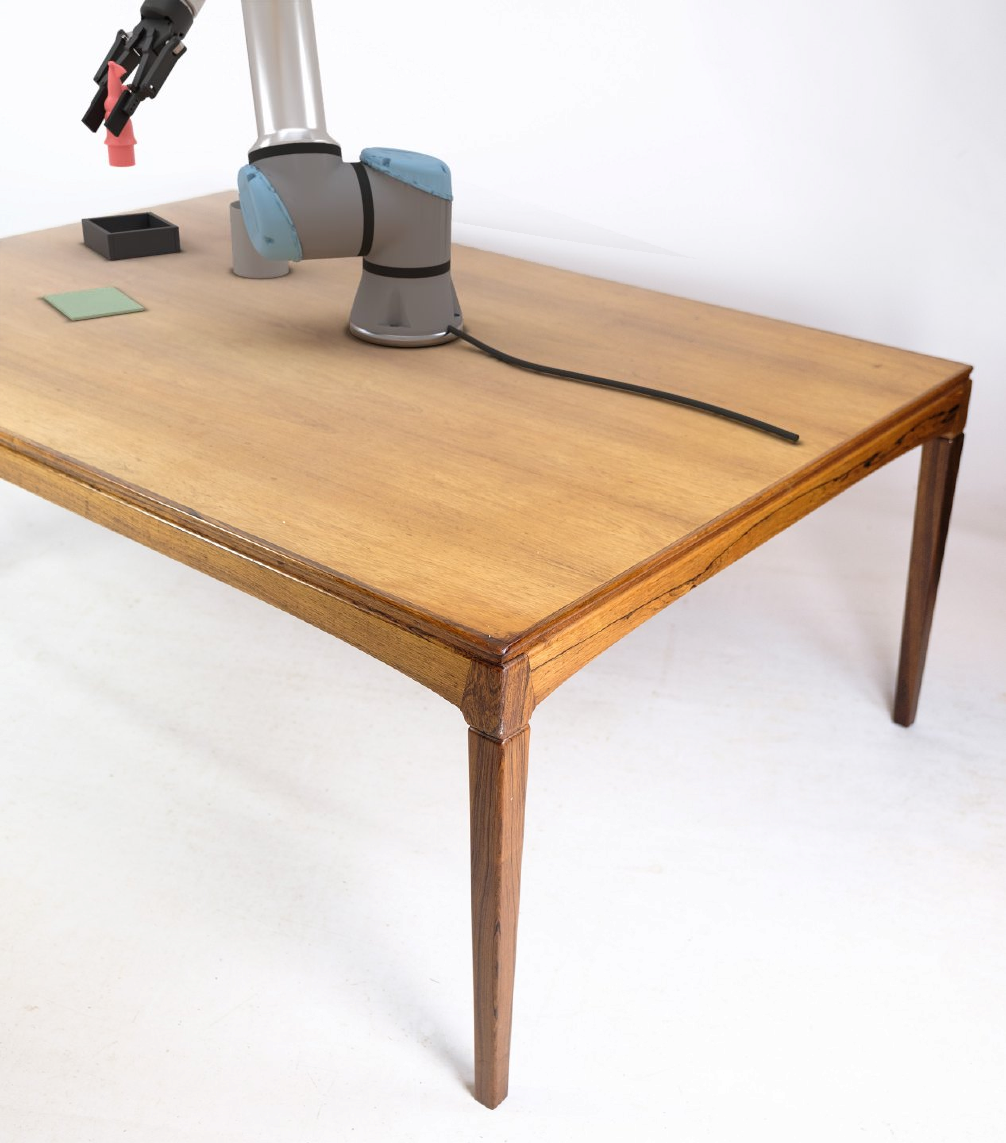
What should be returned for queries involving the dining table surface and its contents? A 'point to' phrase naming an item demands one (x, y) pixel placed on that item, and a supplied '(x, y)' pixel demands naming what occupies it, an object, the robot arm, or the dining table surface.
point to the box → (131, 235)
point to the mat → (93, 303)
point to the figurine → (124, 144)
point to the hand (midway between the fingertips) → (99, 128)
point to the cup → (250, 251)
